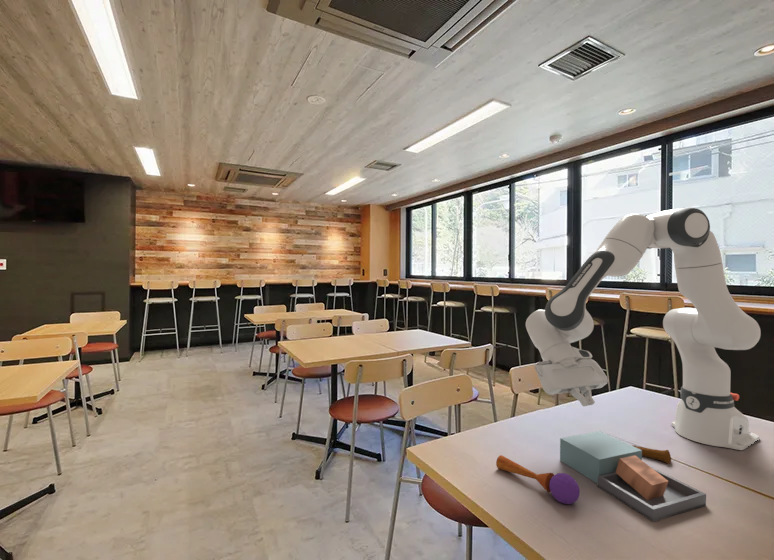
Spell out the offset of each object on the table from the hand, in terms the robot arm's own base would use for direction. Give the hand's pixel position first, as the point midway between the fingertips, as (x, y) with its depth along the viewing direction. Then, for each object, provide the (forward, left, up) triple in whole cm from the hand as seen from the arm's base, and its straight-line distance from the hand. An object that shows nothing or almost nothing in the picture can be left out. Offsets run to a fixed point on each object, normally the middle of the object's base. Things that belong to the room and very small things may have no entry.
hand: (589, 404), depth 99 cm
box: (0, +16, -15) cm, 22 cm away
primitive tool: (-15, -1, -16) cm, 22 cm away
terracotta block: (0, +11, -10) cm, 15 cm away
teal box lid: (0, +3, -15) cm, 15 cm away
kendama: (+22, +5, -15) cm, 27 cm away
